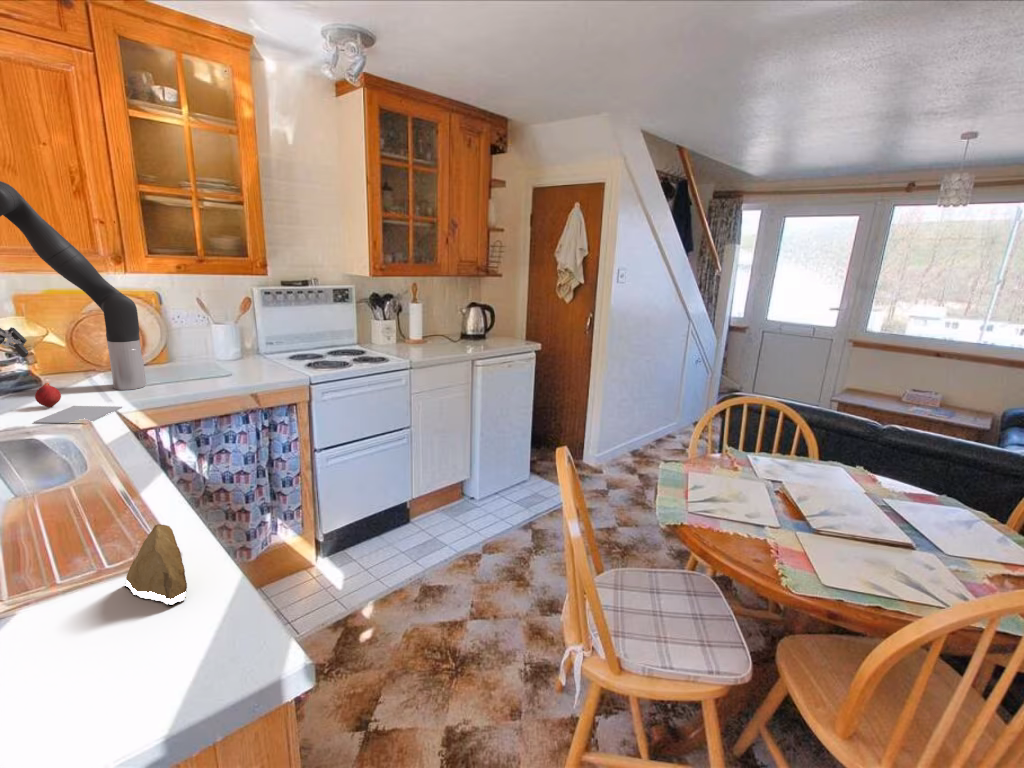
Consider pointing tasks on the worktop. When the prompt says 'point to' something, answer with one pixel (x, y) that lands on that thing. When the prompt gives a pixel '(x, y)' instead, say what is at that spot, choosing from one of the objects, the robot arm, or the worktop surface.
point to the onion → (47, 395)
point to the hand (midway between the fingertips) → (10, 358)
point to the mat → (78, 414)
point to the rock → (159, 565)
